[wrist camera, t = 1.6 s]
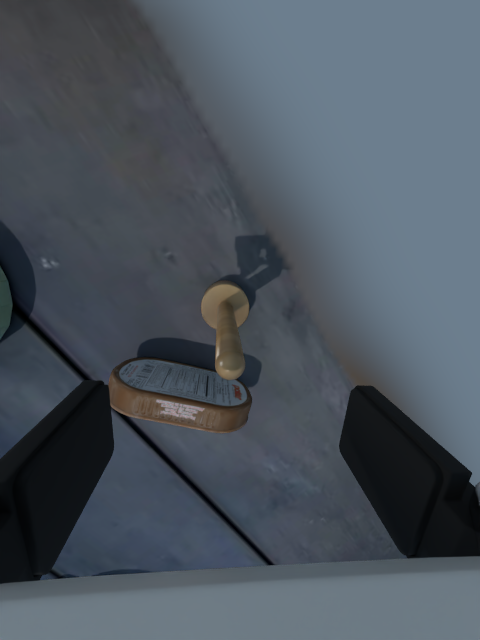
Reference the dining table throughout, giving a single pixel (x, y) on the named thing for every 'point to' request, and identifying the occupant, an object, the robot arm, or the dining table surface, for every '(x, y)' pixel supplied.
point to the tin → (179, 395)
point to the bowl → (4, 303)
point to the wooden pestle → (226, 325)
